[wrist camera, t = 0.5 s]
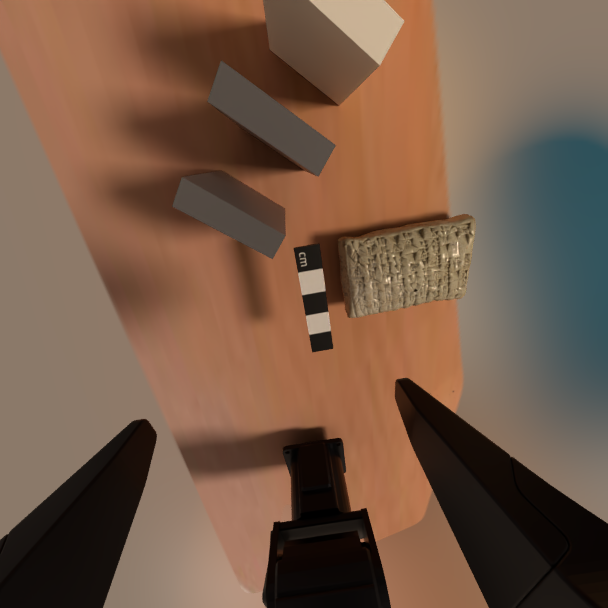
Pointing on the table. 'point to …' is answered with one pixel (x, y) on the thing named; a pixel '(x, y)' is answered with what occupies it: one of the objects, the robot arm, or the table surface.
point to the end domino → (332, 40)
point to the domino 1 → (269, 120)
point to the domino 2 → (233, 210)
